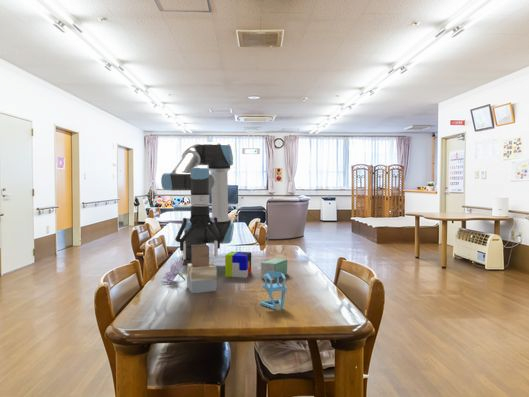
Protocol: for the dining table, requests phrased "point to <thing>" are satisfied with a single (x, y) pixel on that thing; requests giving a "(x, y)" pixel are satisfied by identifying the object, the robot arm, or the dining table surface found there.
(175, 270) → the water lily
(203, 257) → the walnut block
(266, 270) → the box
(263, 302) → the chair
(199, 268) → the tower slab upper
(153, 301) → the dining table surface
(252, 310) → the dining table surface
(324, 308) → the dining table surface
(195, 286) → the tower slab lower
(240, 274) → the puzzle toy
